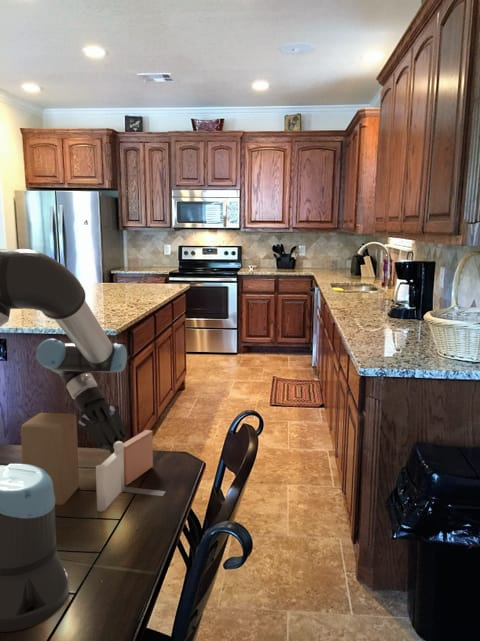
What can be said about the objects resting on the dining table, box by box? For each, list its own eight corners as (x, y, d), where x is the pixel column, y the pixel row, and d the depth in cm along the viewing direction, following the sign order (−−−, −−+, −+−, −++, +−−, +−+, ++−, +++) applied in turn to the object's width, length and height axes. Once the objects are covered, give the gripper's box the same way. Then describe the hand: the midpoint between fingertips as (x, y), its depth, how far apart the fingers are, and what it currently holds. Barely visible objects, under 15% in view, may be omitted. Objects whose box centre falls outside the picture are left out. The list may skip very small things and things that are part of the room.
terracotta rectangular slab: (127, 485, 127) (126, 446, 125) (120, 483, 128) (119, 445, 126) (153, 466, 138) (152, 430, 136) (147, 465, 139) (146, 429, 137)
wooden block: (80, 487, 127) (77, 412, 124) (63, 507, 118) (59, 427, 115) (43, 485, 128) (39, 411, 125) (23, 505, 119) (18, 425, 116)
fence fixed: (104, 512, 115) (103, 460, 113) (94, 510, 115) (92, 459, 113) (126, 486, 127) (125, 439, 125) (117, 485, 127) (116, 439, 126)
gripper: (70, 391, 131) (114, 468, 125) (111, 380, 142) (153, 450, 136) (59, 406, 135) (101, 481, 129) (99, 393, 146) (140, 462, 140)
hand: (128, 465), depth 132 cm, fingers closed
